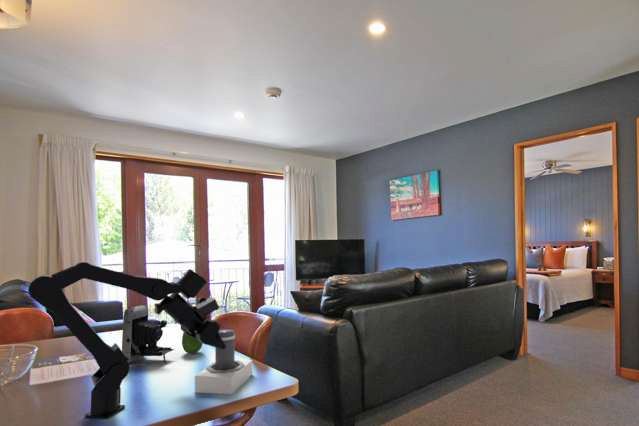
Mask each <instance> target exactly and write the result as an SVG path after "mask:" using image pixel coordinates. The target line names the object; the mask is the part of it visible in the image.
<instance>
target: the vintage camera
mask: <svg viewBox="0 0 639 426" xmlns="http://www.w3.org/2000/svg"><path fill="white" fill-rule="evenodd" d="M167 325H168V321H166V320H165V319H162V320H160V324H158V323H155V322H153V321H151V320H150V321H149V306H148V305H146V304H145V303H141V305H137V306H134V307H130V306H129V307H127V308H126V309H125V310H124V311H123V320H122V336H121V337H122V338H121V351H122V352H124V353H125V354H126V355H127V356H128V358H129V360H127V361H128V363H129V364H131V363H134V362H136V361H137V360H138V361H139V360H140V359H143V358H144V357H163V363H166V354H168V353H171V352H172V351H174V350H175V348H172V347H163V346H159V345H157V344H158V342H159V341H160V340H161V338H162V337H163V334H164V330H163V328H166V326H167Z"/></svg>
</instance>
